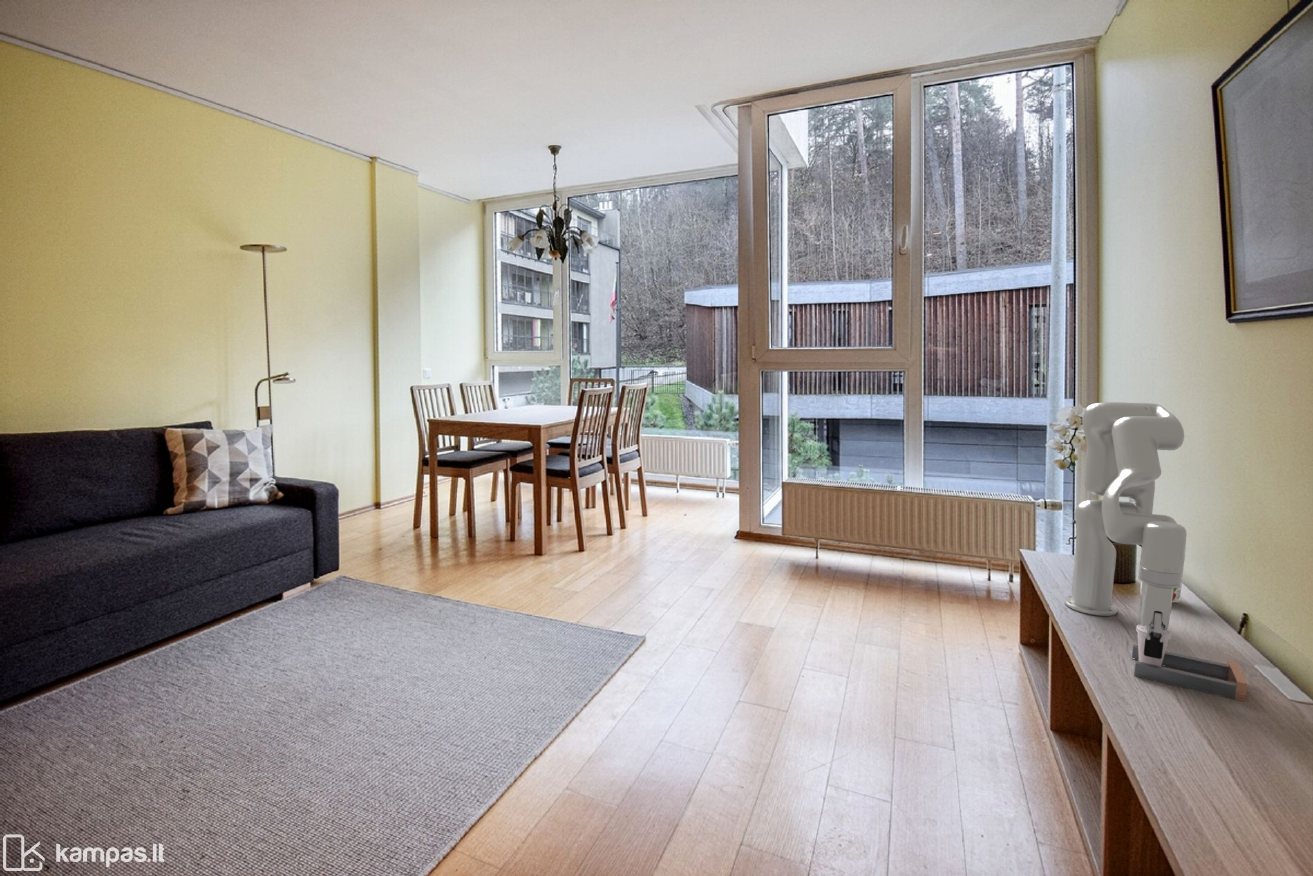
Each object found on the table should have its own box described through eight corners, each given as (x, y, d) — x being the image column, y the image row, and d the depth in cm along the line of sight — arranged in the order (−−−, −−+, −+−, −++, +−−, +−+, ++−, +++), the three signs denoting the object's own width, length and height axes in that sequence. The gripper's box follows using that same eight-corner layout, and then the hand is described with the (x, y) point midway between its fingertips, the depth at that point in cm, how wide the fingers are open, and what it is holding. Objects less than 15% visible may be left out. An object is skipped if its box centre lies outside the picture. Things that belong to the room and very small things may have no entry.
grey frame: (1131, 656, 152) (1133, 640, 151) (1234, 678, 141) (1237, 662, 141) (1134, 676, 142) (1136, 659, 142) (1245, 701, 132) (1247, 684, 131)
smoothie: (1125, 665, 147) (1131, 608, 145) (1143, 660, 149) (1149, 604, 148) (1155, 678, 141) (1162, 619, 139) (1173, 673, 144) (1180, 615, 142)
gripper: (1137, 563, 152) (1129, 633, 154) (1141, 583, 138) (1132, 661, 140) (1177, 569, 147) (1168, 641, 150) (1185, 591, 133) (1176, 671, 136)
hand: (1151, 650), depth 145 cm, fingers closed on smoothie, 6 cm apart
